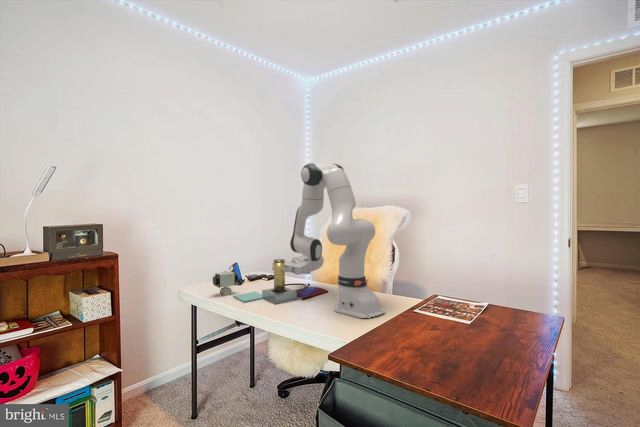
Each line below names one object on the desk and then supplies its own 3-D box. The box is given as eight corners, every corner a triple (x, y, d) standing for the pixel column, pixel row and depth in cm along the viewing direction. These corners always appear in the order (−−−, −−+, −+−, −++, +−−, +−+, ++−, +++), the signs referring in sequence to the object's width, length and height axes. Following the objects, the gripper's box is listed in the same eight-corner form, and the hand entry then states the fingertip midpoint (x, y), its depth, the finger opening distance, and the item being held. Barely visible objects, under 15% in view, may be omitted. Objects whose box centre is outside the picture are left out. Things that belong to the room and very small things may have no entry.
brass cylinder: (287, 289, 160) (286, 260, 160) (277, 291, 157) (277, 261, 156) (281, 287, 164) (280, 258, 164) (272, 288, 161) (271, 259, 161)
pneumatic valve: (238, 293, 170) (238, 270, 170) (216, 297, 163) (215, 273, 162) (233, 291, 174) (233, 268, 174) (211, 295, 167) (211, 271, 167)
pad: (266, 298, 162) (266, 296, 162) (244, 302, 154) (244, 301, 154) (255, 293, 171) (255, 291, 171) (233, 297, 164) (233, 295, 164)
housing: (296, 299, 160) (296, 291, 159) (275, 304, 152) (275, 295, 152) (283, 294, 169) (283, 286, 169) (262, 298, 161) (262, 290, 161)
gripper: (284, 257, 177) (263, 260, 166) (312, 261, 163) (292, 265, 153) (284, 269, 177) (264, 273, 167) (313, 274, 163) (292, 279, 153)
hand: (277, 269), depth 160 cm, fingers closed on brass cylinder, 5 cm apart
